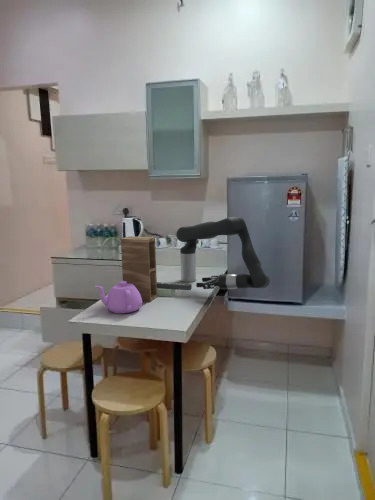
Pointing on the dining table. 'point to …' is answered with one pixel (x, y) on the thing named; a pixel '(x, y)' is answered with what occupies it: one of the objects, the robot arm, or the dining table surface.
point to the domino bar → (174, 286)
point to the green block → (165, 292)
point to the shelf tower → (140, 265)
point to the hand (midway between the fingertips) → (199, 282)
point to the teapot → (121, 298)
